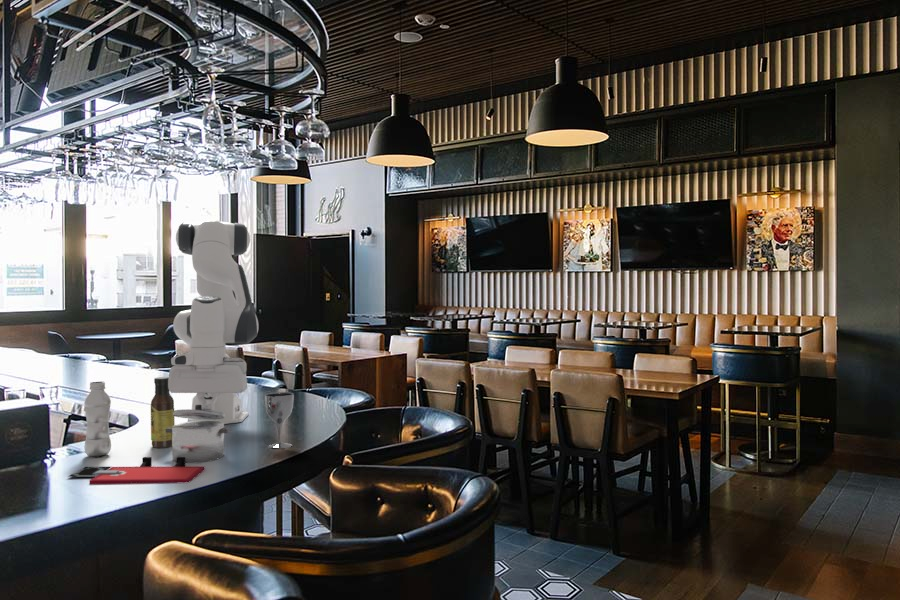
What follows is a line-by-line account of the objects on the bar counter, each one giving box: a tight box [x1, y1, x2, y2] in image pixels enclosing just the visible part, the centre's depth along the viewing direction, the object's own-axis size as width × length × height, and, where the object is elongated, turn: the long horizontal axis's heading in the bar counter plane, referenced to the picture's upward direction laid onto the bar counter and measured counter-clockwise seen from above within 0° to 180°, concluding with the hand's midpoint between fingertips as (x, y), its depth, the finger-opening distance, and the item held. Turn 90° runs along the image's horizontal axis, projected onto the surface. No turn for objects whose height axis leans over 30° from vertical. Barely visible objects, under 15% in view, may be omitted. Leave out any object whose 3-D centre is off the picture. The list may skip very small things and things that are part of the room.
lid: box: [173, 405, 225, 420], centre depth 177 cm, size 13×13×3 cm
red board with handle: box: [67, 456, 206, 485], centre depth 159 cm, size 30×3×15 cm
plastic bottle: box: [84, 381, 112, 457], centre depth 178 cm, size 6×7×20 cm
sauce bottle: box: [150, 376, 176, 449], centre depth 189 cm, size 6×6×20 cm
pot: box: [166, 421, 232, 464], centre depth 177 cm, size 14×17×8 cm
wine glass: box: [264, 391, 295, 449], centre depth 188 cm, size 8×8×15 cm
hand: (208, 409), depth 173 cm, fingers closed, pressing on lid
